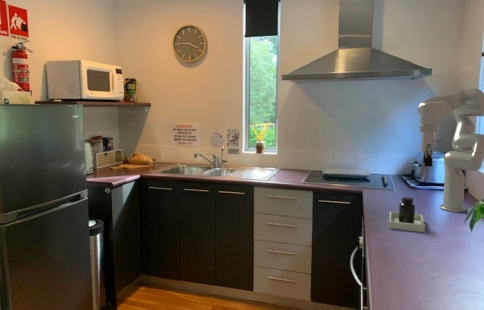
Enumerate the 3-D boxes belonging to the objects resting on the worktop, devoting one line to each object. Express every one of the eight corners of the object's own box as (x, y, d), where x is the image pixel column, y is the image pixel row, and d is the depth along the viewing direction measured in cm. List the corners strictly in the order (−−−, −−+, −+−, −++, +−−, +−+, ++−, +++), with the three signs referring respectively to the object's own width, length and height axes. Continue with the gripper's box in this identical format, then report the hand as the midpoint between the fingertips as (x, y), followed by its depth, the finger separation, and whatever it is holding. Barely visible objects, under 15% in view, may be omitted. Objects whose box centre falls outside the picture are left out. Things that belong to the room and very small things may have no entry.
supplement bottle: (400, 219, 176) (402, 195, 175) (416, 222, 172) (417, 197, 170) (396, 223, 171) (397, 198, 169) (412, 226, 166) (413, 200, 165)
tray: (389, 217, 182) (389, 211, 182) (421, 220, 176) (422, 214, 176) (388, 228, 166) (389, 221, 165) (424, 232, 160) (424, 225, 160)
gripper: (419, 127, 181) (418, 161, 184) (421, 130, 165) (419, 167, 168) (436, 127, 178) (434, 161, 181) (439, 130, 162) (438, 168, 165)
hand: (427, 164), depth 174 cm, fingers open, 9 cm apart
